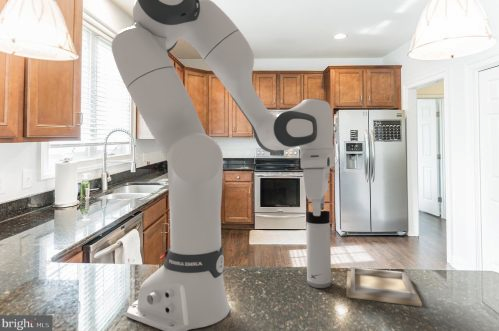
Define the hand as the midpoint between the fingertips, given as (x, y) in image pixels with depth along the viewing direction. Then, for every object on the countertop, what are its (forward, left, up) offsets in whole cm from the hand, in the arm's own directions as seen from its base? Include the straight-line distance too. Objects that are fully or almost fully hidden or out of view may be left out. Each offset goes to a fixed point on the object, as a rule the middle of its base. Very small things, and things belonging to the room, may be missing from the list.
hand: (319, 212), depth 79 cm
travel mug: (0, 0, -19) cm, 19 cm away
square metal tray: (+15, +2, -19) cm, 24 cm away
